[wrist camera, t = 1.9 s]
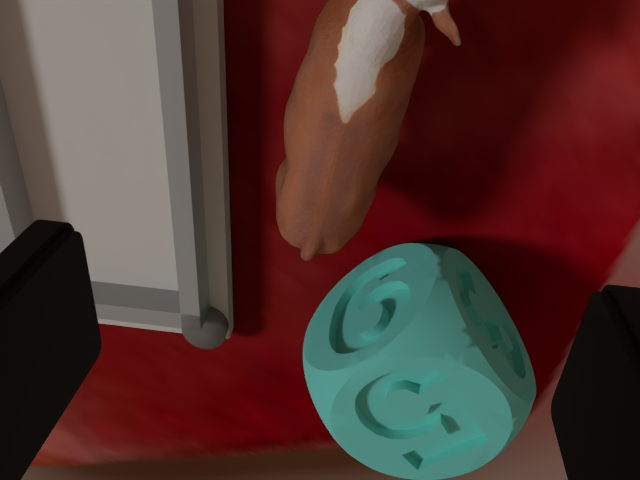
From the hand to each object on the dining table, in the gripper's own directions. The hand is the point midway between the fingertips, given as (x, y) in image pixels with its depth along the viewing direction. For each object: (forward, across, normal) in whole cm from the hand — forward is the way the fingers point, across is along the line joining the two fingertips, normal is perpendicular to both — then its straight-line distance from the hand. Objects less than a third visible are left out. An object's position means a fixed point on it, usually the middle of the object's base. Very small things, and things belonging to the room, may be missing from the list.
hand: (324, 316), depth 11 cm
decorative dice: (+17, -4, +12) cm, 22 cm away
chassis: (+17, +12, +5) cm, 21 cm away
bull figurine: (+17, 0, 0) cm, 17 cm away
